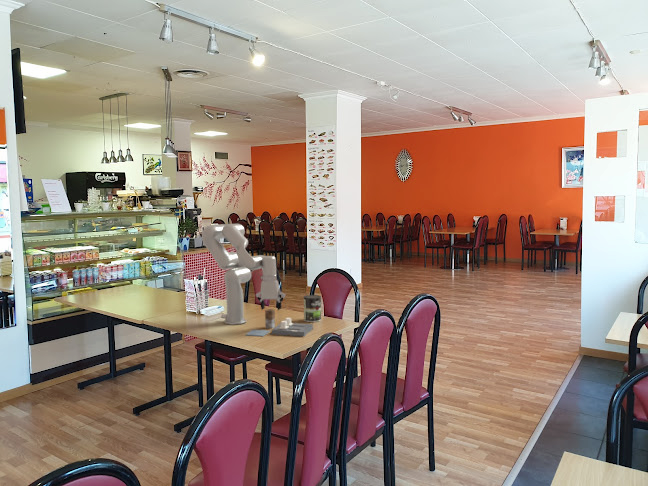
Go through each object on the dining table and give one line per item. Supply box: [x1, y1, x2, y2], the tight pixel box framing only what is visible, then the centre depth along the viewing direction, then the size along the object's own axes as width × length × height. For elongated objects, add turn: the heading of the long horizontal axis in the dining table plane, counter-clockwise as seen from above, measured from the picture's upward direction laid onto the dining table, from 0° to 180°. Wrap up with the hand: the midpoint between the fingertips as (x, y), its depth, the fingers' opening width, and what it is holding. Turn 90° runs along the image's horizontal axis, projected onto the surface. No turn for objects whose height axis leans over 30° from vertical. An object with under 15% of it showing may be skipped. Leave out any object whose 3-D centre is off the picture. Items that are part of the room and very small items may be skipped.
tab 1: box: [279, 320, 289, 329], centre depth 271 cm, size 4×4×4 cm
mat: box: [244, 329, 271, 337], centre depth 272 cm, size 10×10×1 cm
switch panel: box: [271, 322, 314, 337], centre depth 275 cm, size 18×16×3 cm
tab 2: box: [284, 317, 294, 326], centre depth 278 cm, size 4×4×4 cm
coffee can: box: [303, 294, 322, 323], centre depth 299 cm, size 10×10×14 cm
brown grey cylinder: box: [264, 308, 276, 330], centre depth 283 cm, size 4×4×10 cm
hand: (271, 309), depth 282 cm, fingers open, 9 cm apart
